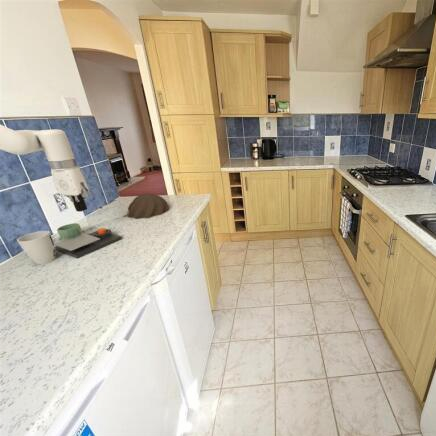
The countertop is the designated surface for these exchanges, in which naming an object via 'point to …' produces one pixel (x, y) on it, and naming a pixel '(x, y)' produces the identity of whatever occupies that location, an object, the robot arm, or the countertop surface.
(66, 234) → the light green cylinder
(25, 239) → the cup
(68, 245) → the grey plate
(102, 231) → the tare button
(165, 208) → the decorative dome
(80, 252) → the scale
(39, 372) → the countertop surface
